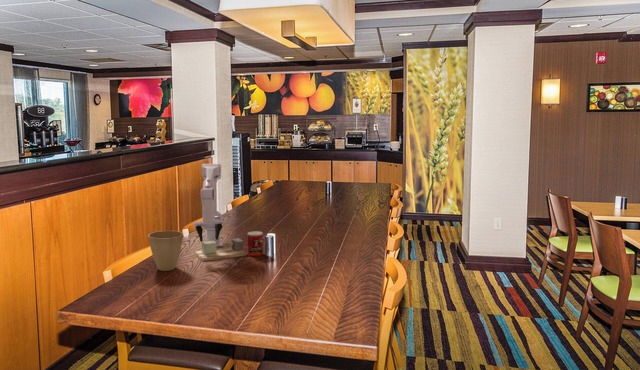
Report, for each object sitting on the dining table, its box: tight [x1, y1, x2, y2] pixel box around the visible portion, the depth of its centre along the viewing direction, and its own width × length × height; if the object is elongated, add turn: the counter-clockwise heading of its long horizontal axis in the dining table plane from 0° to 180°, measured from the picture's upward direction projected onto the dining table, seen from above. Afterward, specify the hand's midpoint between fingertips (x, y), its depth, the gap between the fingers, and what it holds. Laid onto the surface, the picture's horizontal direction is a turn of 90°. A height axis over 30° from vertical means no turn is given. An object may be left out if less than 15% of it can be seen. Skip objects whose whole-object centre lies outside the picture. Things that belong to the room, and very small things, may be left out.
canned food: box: [246, 230, 264, 257], centre depth 248 cm, size 8×8×11 cm
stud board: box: [194, 238, 247, 262], centre depth 247 cm, size 14×22×6 cm, turn 118°
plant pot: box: [147, 230, 184, 272], centre depth 224 cm, size 15×15×16 cm
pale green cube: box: [201, 241, 218, 254], centre depth 245 cm, size 5×6×5 cm
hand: (209, 240), depth 240 cm, fingers open, 7 cm apart
